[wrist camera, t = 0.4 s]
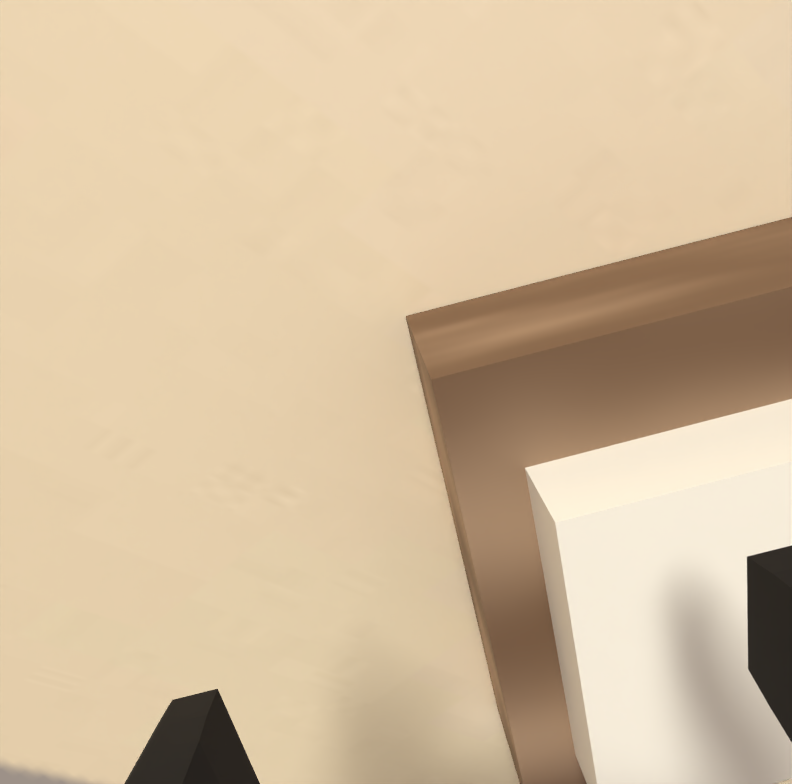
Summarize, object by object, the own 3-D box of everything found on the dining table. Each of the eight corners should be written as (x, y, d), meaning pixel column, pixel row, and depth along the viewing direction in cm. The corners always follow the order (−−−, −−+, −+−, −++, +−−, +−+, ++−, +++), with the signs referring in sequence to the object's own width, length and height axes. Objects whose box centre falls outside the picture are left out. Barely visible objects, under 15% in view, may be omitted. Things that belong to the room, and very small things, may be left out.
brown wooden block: (821, 626, 23) (915, 727, 20) (498, 710, 23) (533, 828, 20) (837, 205, 17) (977, 239, 14) (405, 316, 17) (431, 379, 14)
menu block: (795, 697, 19) (848, 763, 17) (575, 754, 18) (604, 827, 17) (802, 396, 15) (870, 440, 13) (525, 467, 15) (554, 522, 13)
